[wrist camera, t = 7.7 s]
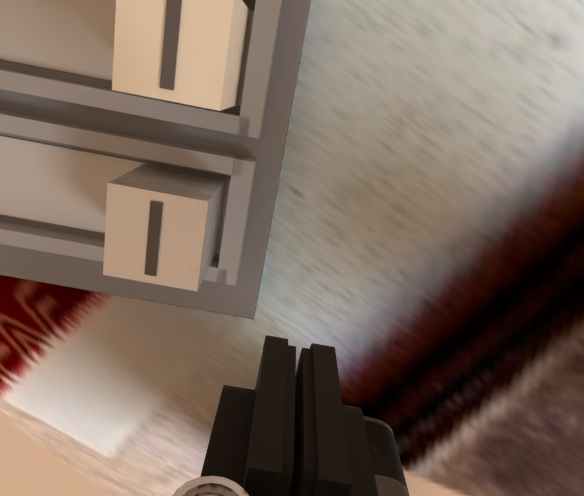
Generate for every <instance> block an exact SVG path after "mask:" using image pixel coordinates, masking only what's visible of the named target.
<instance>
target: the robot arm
mask: <svg viewBox="0 0 584 496" xmlns="http://www.w3.org/2000/svg"><path fill="white" fill-rule="evenodd" d="M295 368H296V347H295V346H289V345H288V339H284V338H279V337H273V336H267V335H266V337H265V342H264V347H263V352H262V357H261V362H260V368H259V373H258V378H257V383H256V388H255V390H251V389H245V388H239V387H233V386H227V385H224V387H223V390H222V394H221V398H220V402H219V406H218V410H217V414H216V418H215V422H214V425H213V429H212V433H211V437H210V441H209V445H208V449H207V453H206V457H205V461H204V465H203V469H202V473H201V477H198V478H196V479H193V480H191V481H188V482H186V483H185V484H184V485H182V486H181V487H180V488H178V489H177V490H176V492H175V493H174V494H173V496H378V491H377V486H376V480H375V475H374V470H373V465H372V459H371V454H370V449H369V443H368V438H367V433H366V427H365V422H364V417H363V413H362V410H361V408H359V407H353V406H347V405H342V399H341V392H340V384H339V376H338V368H337V361H336V353H335V348H334V347H331V346H325V345H319V344H313V343H312V344H311V347H310V349H307V348H302V350H301V354H300V358H299V363H298V367H297V372H296V376H295Z"/></svg>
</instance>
